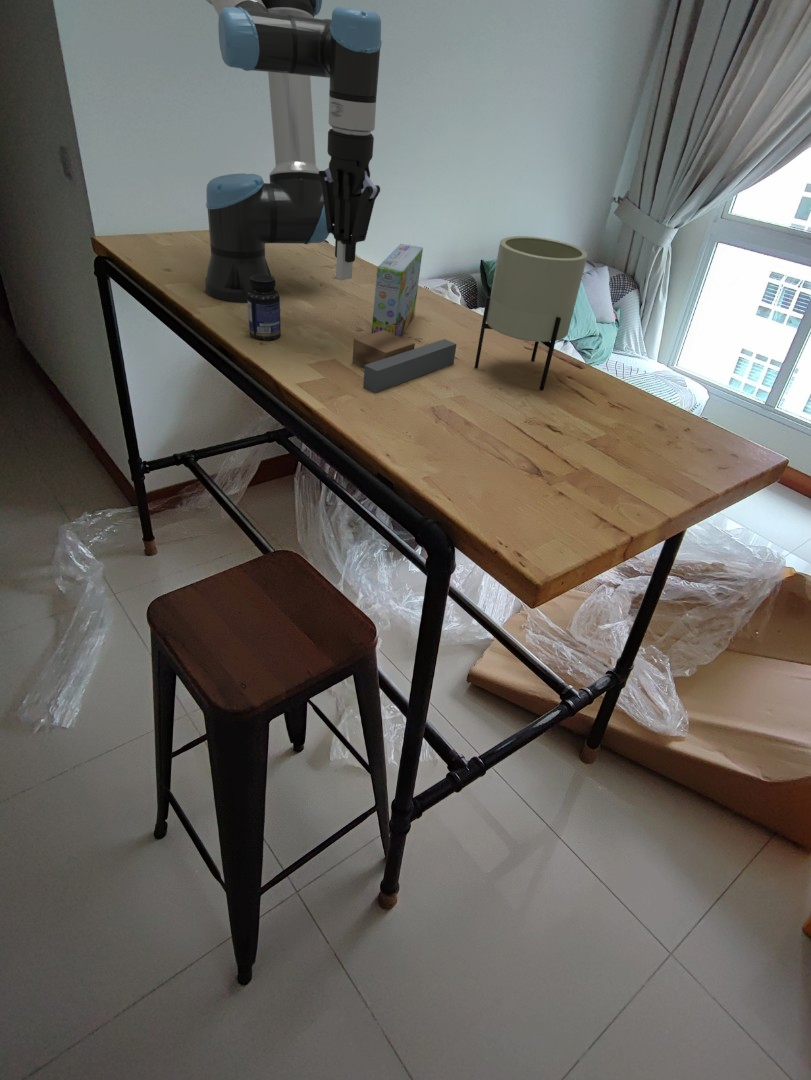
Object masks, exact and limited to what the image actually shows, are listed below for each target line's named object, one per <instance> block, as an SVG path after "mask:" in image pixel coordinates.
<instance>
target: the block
mask: <svg viewBox="0 0 811 1080" xmlns="http://www.w3.org/2000/svg"><path fill="white" fill-rule="evenodd" d="M371 333H372V332H371ZM371 333H369V334H365V335H362V336H359V337H355V338H353V346H352V347H353V348H352V351H353V352H352V364H353V365H354V366H357V367H359V368H361V369H362V370H364V367H365V365H367V364H370V363H373V362H376V361H379V360H382V359H385V358H388V357H391V356H394V355H397V354H400V353H403V352H406V351H409V350H412V349H415V344H416V343H414V342H412V341H410V340H408V339H405V338H403V337H402V336H401V337H399V336H396V335H394V334H392V333H389V332H387V331H385V330H382V331H378V332H375V333H372V334H371Z"/></svg>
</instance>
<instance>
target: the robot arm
mask: <svg viewBox="0 0 811 1080" xmlns="http://www.w3.org/2000/svg"><path fill="white" fill-rule="evenodd" d="M205 1H206V2H207V3H209V4H210V5H211V6H212V7H213V8H214V10H215V12H216V14H217V17H218V25H217V26H218V28H217V29H218V43H219V49H220V50H219V51H220V54H221V59H222V61H223V63H224V64H225V65H226V66H227V67H230V68H235V69H240V70H243V71H246V72H251V71H253V72H254V71H255V72H266V73H267V75H268V87H269V88H268V89H269V98H270V99H269V100H270V102H269V103H270V112H271V113H270V114H271V123H272V136H273V137H272V138H273V147H274V148H273V149H274V159H275V160H274V161H275V167H274V168H273V169H272V170H271V172H270V173H269V183H267V182H264V180H263V177H262V176H261V175H259V174H257V173H256V174H255V173H231V174H224V175H220V176H216V177H214V178H212V179H211V180H209V181H208V183H207V185H206V203H205V207H206V209H207V218H208V219H207V220H208V221H207V222H208V230H209V231H208V232H209V245H210V258H209V263H208V267H207V271H206V272H207V273H206V277H205V280H204V282H205V283H204V284H205V292H206V293H207V294H208V295H209V296H211V297H212V298H215V299H219V300H222V301H226V302H227V301H228V302H233V303H234V302H236V303H248V300H247V293H248V291H249V290H250V289H252V286H251V284H250V277H251V276H253V275H270V276H272V273H271V270H270V268H269V265H268V262H267V259H266V247H265V246H266V244H304V245H309V244H321V243H323V242H326V240H327V239H328V237H329V235H330V234H332V235H333V238H334V239H335V242H334V245H335V246H334V249H335V250H334V257H335V258H336V267H335V269H336V270H335V279H337V280H340V281H346V280H350V279H353V265H354V264H353V263H354V262H355V260H356V253H357V252H356V250H357V249H356V248H357V244H358V243H360V242H365V241H366V238H367V234H368V231H369V226H370V221H371V218H372V214H373V209H374V205H375V201H376V199H377V198H378V196H379V194H380V193H381V187H380V185H379V184H376V185H375V184H374V183H373V182H372V180H371V171H370V165H369V164H370V162H371V160H372V159H373V157H374V156H373V153H374V139H375V137H374V135H373V134H372V132H373V131H375V128H376V110H377V109H376V108H377V96H378V82H379V69H380V58H381V57H380V56H381V47H382V44H383V43H382V20H381V19H382V18H381V16H380V14H379V13H378V12H376V11H370V10H364V9H359V8H351V7H345V6H344V7H342V6H336V7H334V9H333V10H332V13H331V19H328V18H323V19H321V18H315V17H316V16H318V15H319V14H320V12H321V9H322V5H323V0H205ZM311 77H316V78H317V77H318V78H326V79H327V78H328V79H329V94H328V95H329V96H328V97H329V101H328V125H329V126H330V127H331V128H329V130H328V132H327V153H328V156H329V157H330V160H329V162H328V168H326V169H325V170H320V169H319V168H318V167H317V162H316V148H315V145H316V143H315V129H314V115H313V100H312V83H311V82H312V81H311Z"/></svg>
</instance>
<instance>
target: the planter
mask: <svg viewBox="0 0 811 1080" xmlns="http://www.w3.org/2000/svg"><path fill="white" fill-rule="evenodd" d="M587 259H588V253H587V251H586V250H585V249H583V248H581V247H580V246H576V245H575V244H574V245H573V244H571V243H568V242H564V241H562V240H561V241H560V240H556V239H552V238H546V237H545V238H544V237H538V236H526V235H525V236H522V235H521V236H519V235H518V236H507V237H505V238H502V239H501V240H500V241H499V246H498V251H497V256H496V264H495V270H494V273H493V279H492V286H491V292H490V296H486V298H485V305H484V311H483V314H482V315H483V316H482V320H481V321H482V322H481V327H480V332H479V338H478V344H477V351H476V357H475V361H474V369H477V370H478V369H479V365H480V358H481V353H482V347H483V343H484V334H485V330H487V329H488V330H494V331H495V332H498V333H499V334H501V335H504V336H507V337H509V338H513V339H517V340H523V341H526V342H527V341H529V342H534V344H533V350H532V354H531V358H530V362H532V363H534V362H535V360H536V356H537V352H538V348H539V343H541V344H542V345H544V346H546V347H547V348H548V351H547V355H546V360H545V364H544V368H543V372H542V375H541V376H542V377H541V381H540V385H539V389H538V390H539V391H542V392H543V391H544V389H545V385H546V383H547V378H548V373H549V369H550V365H551V361H552V357H553V354H554V349H555V347H556V346H555V345H556V341H560V340H562V339H564V338H565V337H567V336H568V333H569V330H570V326H571V322H572V318H573V314H574V311H575V308H576V303H577V299H578V295H579V291H580V287H581V284H582V278H583V275H584V272H585V271H584V270H585V267H586V263H587Z"/></svg>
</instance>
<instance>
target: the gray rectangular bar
mask: <svg viewBox="0 0 811 1080" xmlns="http://www.w3.org/2000/svg"><path fill="white" fill-rule="evenodd" d="M456 349H457V343H455V342H453V341H450V340H448V339H446V338H443V339H441V340H437V341H434V342H432V343H431V342H430V343H428V344H425V345H421V346H419V347H416V348H415V347H414V349H412V350H409V351H406V352H403V353H400V354H397V355H394V356H391V357H388V358H385V359H382V360H379V361H376V362H373V363H370V364H367V365H365V367H364V369H363V384H362V385H363V388H365V389H366V390H368V391H370V392H373V393H378V392H382V391H384V390H387V389H390V388H392V387H395V386H397V385H401V384H403V383H406V382H409V381H411V380H414V379H417V378H419V377H422V376H424V375H427V374H429V373H432V372H434V371H435V372H436V371H438V370H441V369H443V368H446V367H448V366H452V365H454V364H455V357H456Z"/></svg>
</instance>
